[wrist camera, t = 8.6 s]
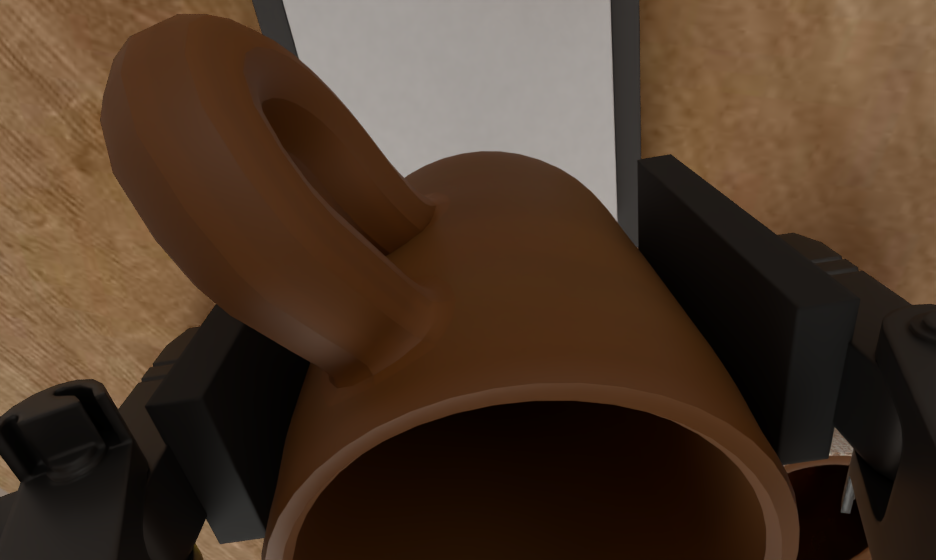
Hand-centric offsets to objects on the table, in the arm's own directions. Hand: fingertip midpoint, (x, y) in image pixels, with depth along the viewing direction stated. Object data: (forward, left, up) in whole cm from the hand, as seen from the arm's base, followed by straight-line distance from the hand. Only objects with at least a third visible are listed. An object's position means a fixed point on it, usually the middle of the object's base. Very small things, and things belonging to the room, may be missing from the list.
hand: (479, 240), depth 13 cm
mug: (0, -1, -2) cm, 2 cm away
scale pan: (0, 0, -14) cm, 14 cm away
